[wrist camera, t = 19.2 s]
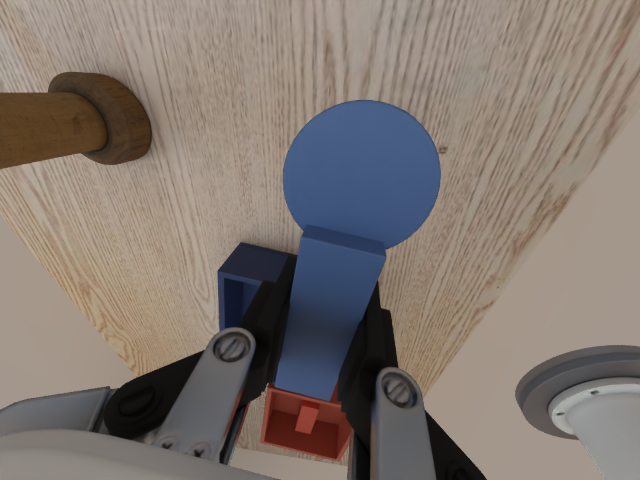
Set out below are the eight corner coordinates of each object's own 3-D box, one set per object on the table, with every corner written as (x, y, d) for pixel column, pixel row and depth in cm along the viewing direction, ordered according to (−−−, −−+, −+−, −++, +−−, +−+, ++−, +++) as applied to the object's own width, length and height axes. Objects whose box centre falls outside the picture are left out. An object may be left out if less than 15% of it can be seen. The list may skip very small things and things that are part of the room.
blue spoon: (352, 349, 13) (350, 407, 10) (273, 329, 13) (253, 382, 11) (446, 117, 7) (489, 125, 5) (308, 86, 7) (283, 79, 5)
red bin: (341, 424, 41) (339, 462, 37) (269, 406, 42) (259, 442, 37) (366, 371, 34) (367, 411, 29) (278, 351, 34) (267, 387, 30)
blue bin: (326, 357, 33) (322, 396, 29) (238, 336, 34) (220, 371, 29) (355, 268, 26) (355, 303, 21) (240, 242, 26) (217, 271, 22)
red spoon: (318, 415, 40) (316, 435, 38) (293, 409, 40) (289, 429, 38) (332, 377, 34) (330, 398, 32) (303, 370, 35) (299, 390, 32)
